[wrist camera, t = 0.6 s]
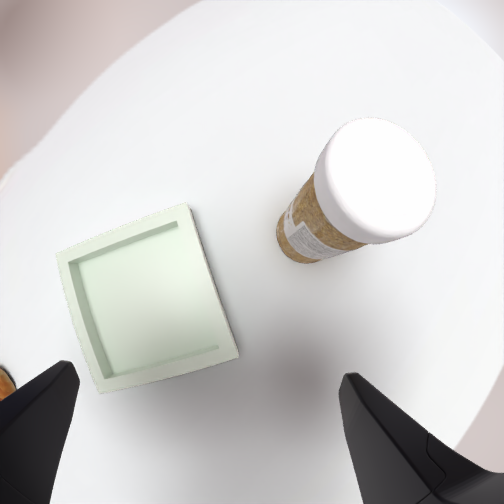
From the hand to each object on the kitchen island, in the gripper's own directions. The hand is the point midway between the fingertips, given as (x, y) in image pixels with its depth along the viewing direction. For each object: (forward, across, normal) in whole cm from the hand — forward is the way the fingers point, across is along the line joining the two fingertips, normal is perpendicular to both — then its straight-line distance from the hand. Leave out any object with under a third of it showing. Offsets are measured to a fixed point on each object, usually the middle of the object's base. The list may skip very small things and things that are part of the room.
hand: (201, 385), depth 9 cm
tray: (+12, +6, +5) cm, 14 cm away
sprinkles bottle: (+15, -6, 0) cm, 16 cm away
